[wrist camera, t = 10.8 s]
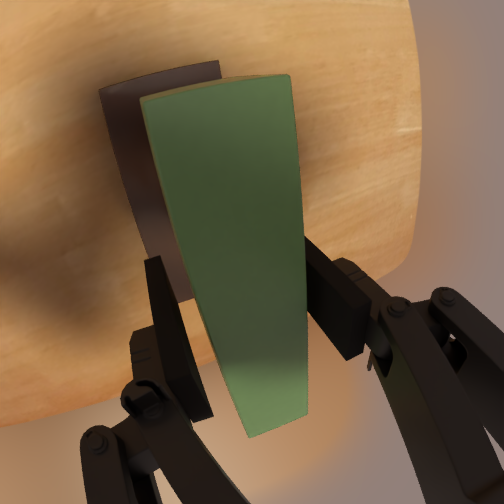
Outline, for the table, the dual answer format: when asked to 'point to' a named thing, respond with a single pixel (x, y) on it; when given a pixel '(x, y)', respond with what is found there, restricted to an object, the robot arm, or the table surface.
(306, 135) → the table surface
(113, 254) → the table surface
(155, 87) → the rods
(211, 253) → the bar
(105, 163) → the table surface
